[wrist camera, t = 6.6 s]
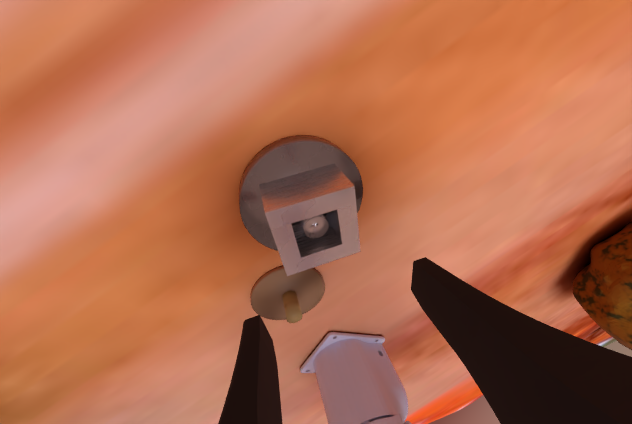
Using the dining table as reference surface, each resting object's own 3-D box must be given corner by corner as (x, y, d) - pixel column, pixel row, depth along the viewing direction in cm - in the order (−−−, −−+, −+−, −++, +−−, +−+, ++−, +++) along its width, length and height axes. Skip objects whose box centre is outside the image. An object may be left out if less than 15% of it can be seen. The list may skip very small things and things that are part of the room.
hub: (375, 166, 20) (408, 192, 16) (320, 251, 23) (336, 288, 19) (271, 110, 16) (283, 129, 12) (220, 224, 19) (217, 266, 15)
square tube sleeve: (334, 163, 17) (354, 186, 14) (342, 223, 20) (360, 251, 17) (259, 184, 16) (264, 212, 14) (279, 242, 19) (287, 276, 17)
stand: (336, 272, 25) (347, 295, 23) (302, 318, 28) (309, 344, 25) (270, 256, 22) (275, 283, 19) (238, 311, 24) (239, 340, 22)
